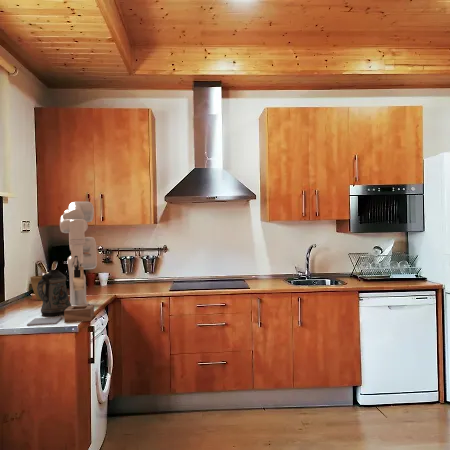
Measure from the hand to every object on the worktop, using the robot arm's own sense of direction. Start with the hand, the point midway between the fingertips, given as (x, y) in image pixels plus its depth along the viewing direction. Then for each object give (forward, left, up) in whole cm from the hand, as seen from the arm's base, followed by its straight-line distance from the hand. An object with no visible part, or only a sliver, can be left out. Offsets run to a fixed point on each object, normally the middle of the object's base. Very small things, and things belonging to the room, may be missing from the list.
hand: (78, 276), depth 235 cm
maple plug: (0, 0, -7) cm, 7 cm away
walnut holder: (0, 0, -23) cm, 23 cm away
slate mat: (+2, -17, -23) cm, 28 cm away
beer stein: (-17, -16, -23) cm, 33 cm away
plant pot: (-74, -37, -23) cm, 86 cm away
